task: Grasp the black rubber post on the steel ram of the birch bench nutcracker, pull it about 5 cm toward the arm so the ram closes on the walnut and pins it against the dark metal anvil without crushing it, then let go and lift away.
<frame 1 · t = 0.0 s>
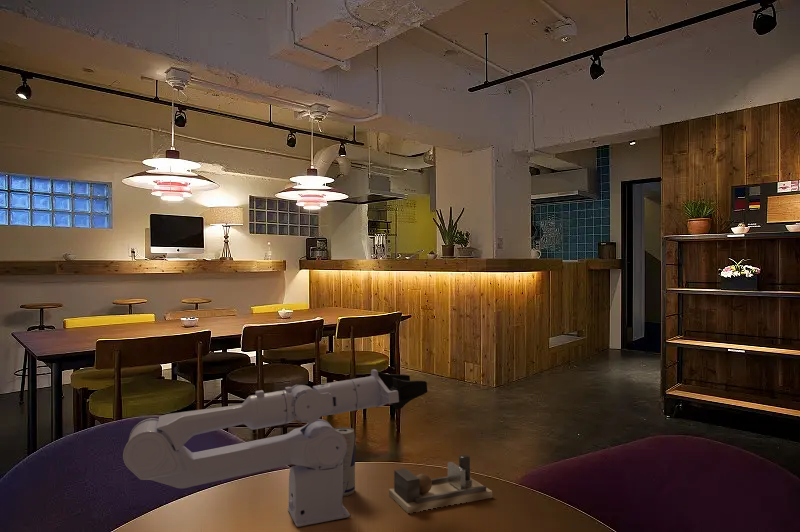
hand: (417, 383, 97), 22 cm above the table, tool horizontal, fingers open, 7 cm apart
energy drink: (341, 492, 98), on the table
ram: (461, 470, 98), point 4 cm above the table, slide at 0.0 cm
walnut: (422, 499, 94), resting on press base
press base: (440, 496, 96), on the table
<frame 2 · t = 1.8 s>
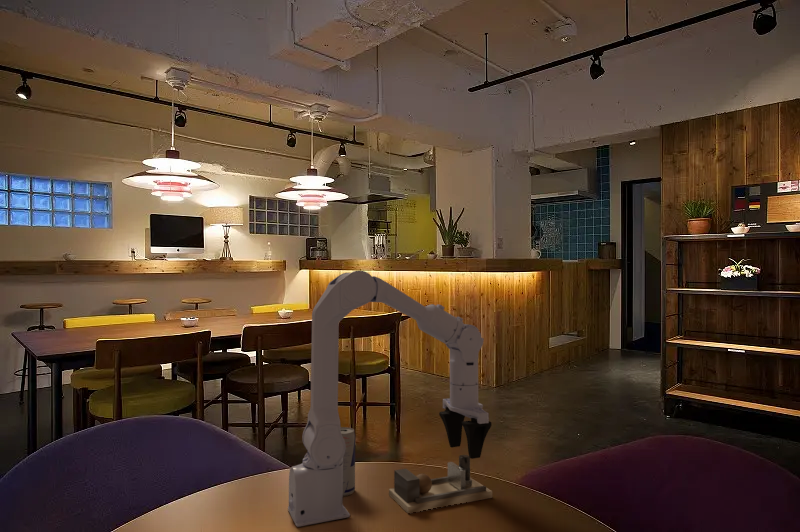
hand: (464, 451, 98), 8 cm above the table, tool pointing down, fingers open, 7 cm apart
nothing on the table moved.
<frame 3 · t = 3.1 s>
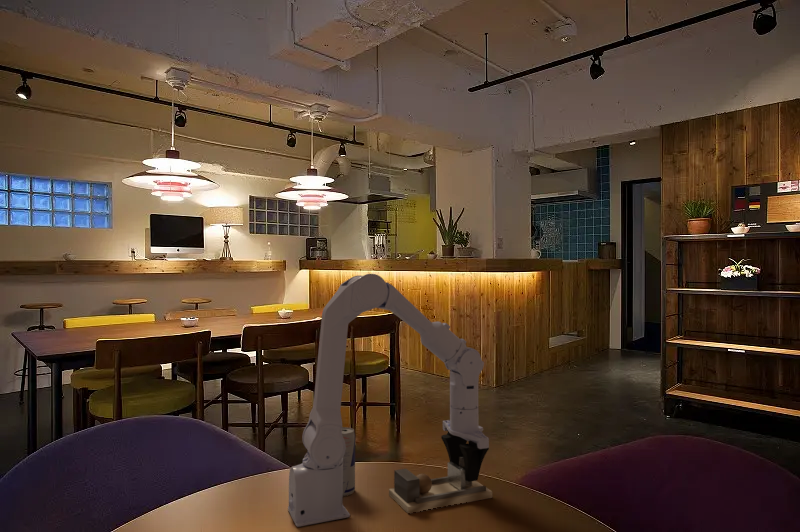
hand: (464, 475, 98), 3 cm above the table, tool pointing down, fingers closed on ram, 5 cm apart
ram: (461, 470, 98), point 4 cm above the table, slide at 0.0 cm, touching gripper
everything else where it was.
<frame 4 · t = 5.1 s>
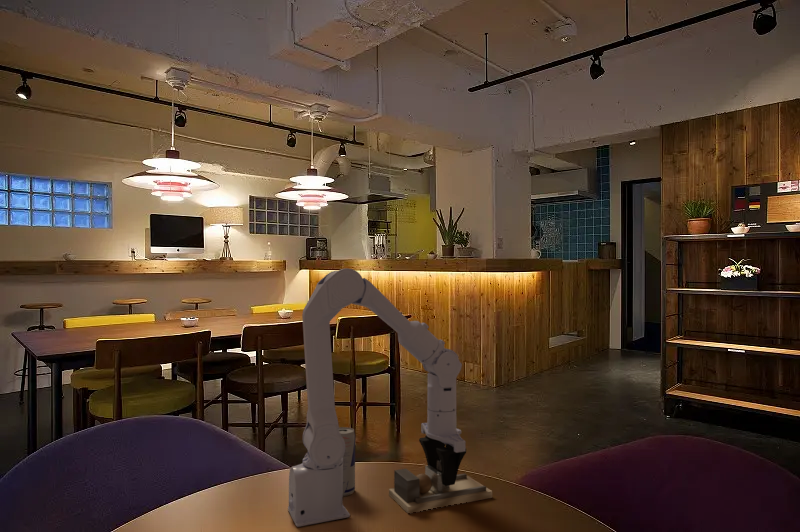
hand: (442, 479, 96), 3 cm above the table, tool pointing down, fingers closed on ram, 5 cm apart
ram: (439, 474, 96), point 4 cm above the table, slide at 5.1 cm, touching gripper
everything else where it was.
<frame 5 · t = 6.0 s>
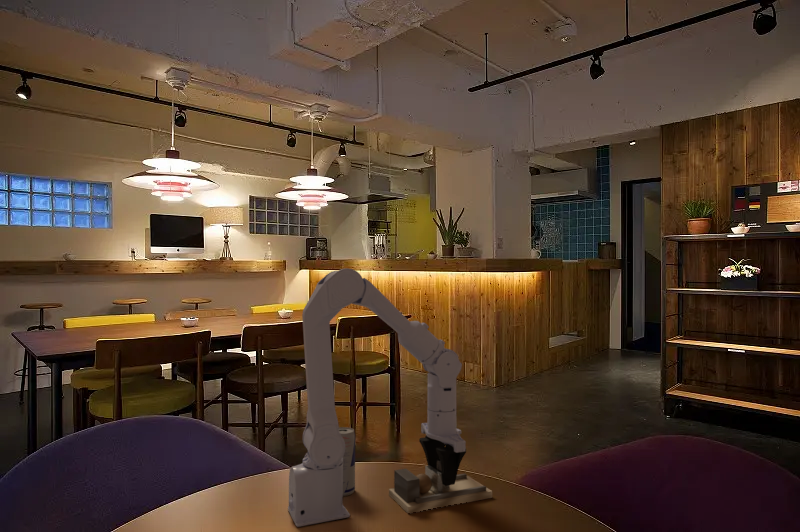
hand: (442, 479, 96), 3 cm above the table, tool pointing down, fingers closed on ram, 5 cm apart
ram: (439, 474, 96), point 4 cm above the table, slide at 5.1 cm, touching gripper
everything else where it was.
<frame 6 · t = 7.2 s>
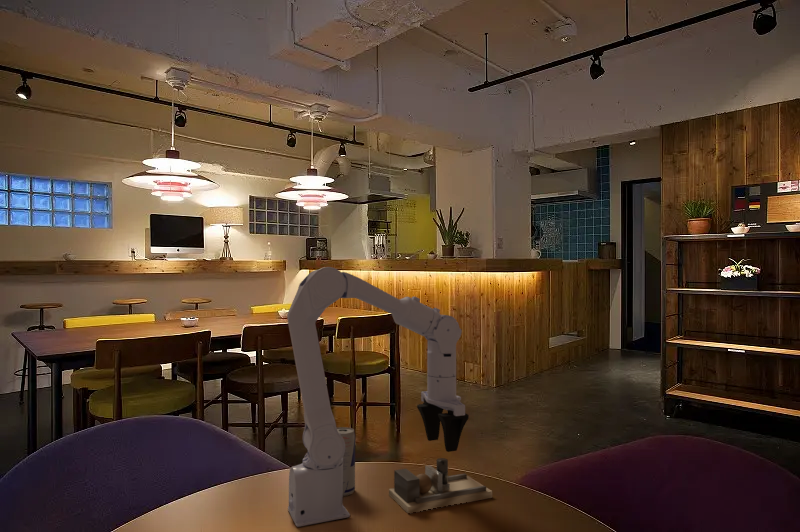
hand: (441, 445, 96), 10 cm above the table, tool pointing down, fingers open, 7 cm apart
ram: (439, 474, 96), point 4 cm above the table, slide at 5.1 cm
everything else where it was.
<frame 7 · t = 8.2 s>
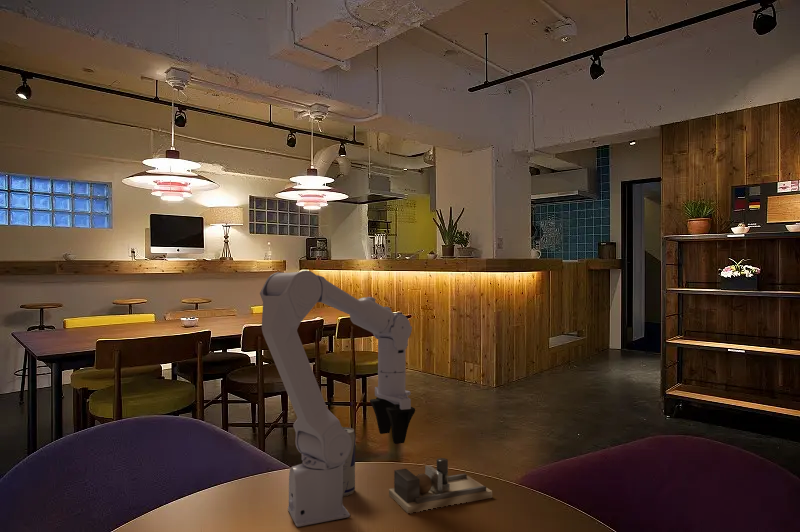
hand: (391, 437, 101), 10 cm above the table, tool pointing down, fingers open, 7 cm apart
nothing on the table moved.
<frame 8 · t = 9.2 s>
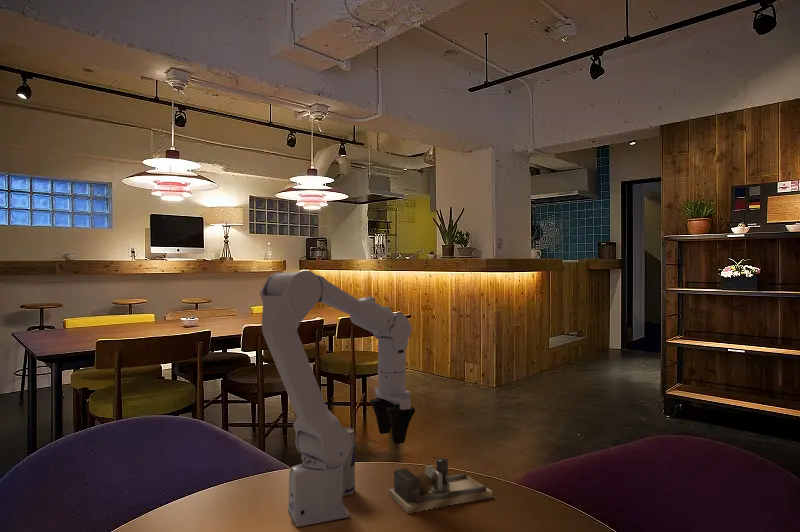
hand: (391, 437, 101), 10 cm above the table, tool pointing down, fingers open, 7 cm apart
nothing on the table moved.
at the end: ram slide at 5.1 cm; walnut 0.4 cm from the target spot, resting on press base; the gripper is holding nothing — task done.
